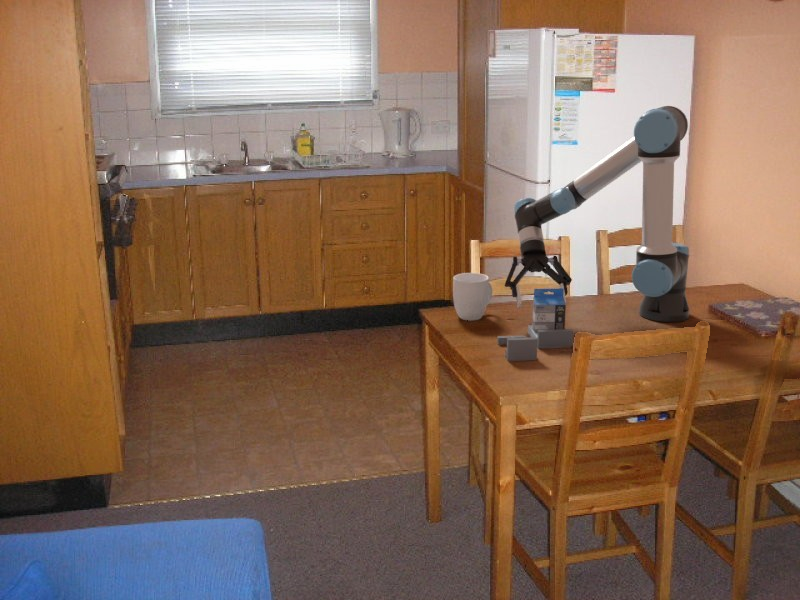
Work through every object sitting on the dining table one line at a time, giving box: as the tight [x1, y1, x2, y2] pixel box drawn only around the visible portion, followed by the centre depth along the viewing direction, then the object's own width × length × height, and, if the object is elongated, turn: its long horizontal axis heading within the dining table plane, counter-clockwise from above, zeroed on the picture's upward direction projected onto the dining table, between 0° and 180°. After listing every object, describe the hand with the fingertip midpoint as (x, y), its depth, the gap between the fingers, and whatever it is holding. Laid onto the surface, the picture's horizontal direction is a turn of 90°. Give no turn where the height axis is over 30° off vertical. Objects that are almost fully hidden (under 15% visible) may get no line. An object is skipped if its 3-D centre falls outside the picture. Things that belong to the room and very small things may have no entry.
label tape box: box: [531, 287, 567, 333], centre depth 260 cm, size 9×4×12 cm, turn 92°
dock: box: [527, 324, 574, 350], centre depth 261 cm, size 10×14×5 cm
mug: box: [452, 272, 493, 322], centre depth 282 cm, size 15×11×13 cm
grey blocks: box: [496, 334, 538, 362], centre depth 252 cm, size 8×15×6 cm, turn 5°
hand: (542, 305), depth 270 cm, fingers open, 13 cm apart
